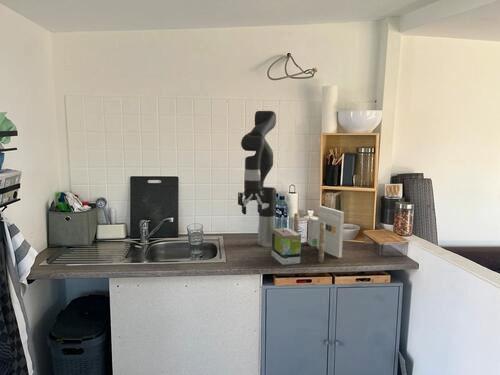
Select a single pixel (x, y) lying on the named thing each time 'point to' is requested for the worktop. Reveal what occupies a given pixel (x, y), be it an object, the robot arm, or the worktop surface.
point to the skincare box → (312, 231)
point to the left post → (296, 222)
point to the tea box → (286, 245)
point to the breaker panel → (331, 230)
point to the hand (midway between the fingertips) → (251, 213)
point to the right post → (321, 242)
